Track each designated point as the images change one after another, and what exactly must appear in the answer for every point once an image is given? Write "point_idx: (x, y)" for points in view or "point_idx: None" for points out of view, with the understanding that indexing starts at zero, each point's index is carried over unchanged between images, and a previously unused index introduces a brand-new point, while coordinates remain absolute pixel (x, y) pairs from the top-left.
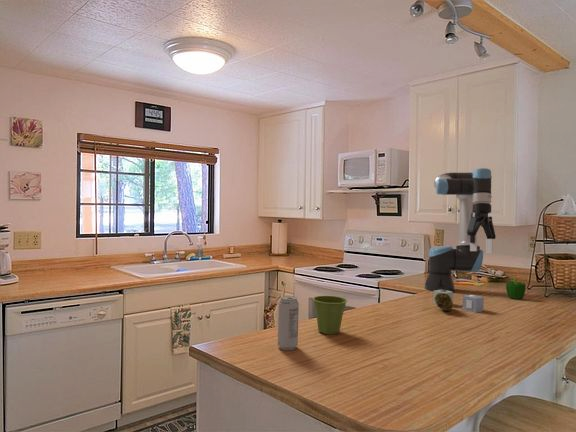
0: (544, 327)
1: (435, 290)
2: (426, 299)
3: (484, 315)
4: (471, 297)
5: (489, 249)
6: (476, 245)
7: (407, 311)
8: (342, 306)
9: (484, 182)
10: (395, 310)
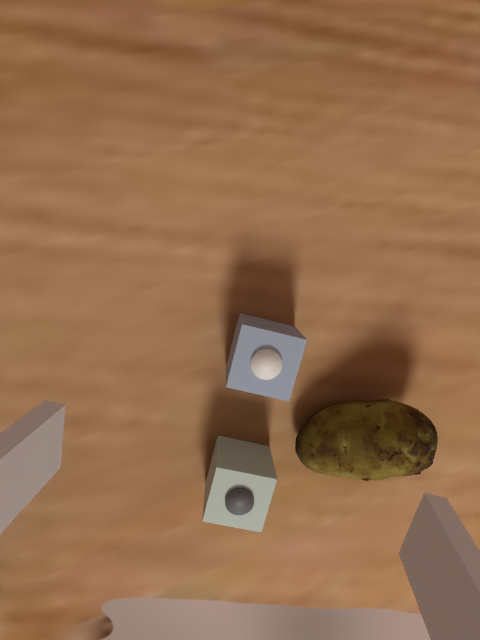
0: (367, 48)
1: (248, 528)
2: (197, 538)
3: (321, 285)
4: (297, 362)
5: (28, 464)
6: (478, 558)
7: None
8: None
9: None
10: None
